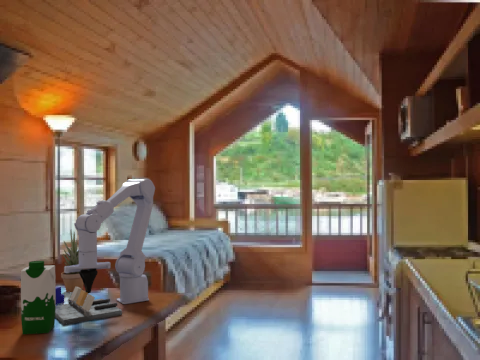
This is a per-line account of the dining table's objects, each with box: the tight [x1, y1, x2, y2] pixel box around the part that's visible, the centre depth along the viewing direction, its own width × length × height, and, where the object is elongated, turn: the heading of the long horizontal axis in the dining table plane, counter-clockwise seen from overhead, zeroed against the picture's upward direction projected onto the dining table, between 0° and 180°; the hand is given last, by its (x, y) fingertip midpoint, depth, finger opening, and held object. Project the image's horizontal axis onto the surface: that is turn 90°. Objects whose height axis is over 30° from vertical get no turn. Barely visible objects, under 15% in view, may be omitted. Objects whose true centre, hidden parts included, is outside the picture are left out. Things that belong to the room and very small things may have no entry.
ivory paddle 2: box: [82, 293, 96, 311], centre depth 145 cm, size 1×4×4 cm, turn 35°
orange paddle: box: [76, 289, 89, 306], centre depth 151 cm, size 1×4×4 cm, turn 35°
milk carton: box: [20, 260, 56, 335], centre depth 134 cm, size 9×9×20 cm
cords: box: [92, 298, 118, 309], centre depth 155 cm, size 8×8×1 cm
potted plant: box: [60, 230, 84, 293], centre depth 184 cm, size 10×10×25 cm
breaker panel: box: [55, 298, 123, 326], centre depth 152 cm, size 18×20×3 cm
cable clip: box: [55, 286, 65, 305], centre depth 166 cm, size 12×4×6 cm, turn 68°
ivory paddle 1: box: [69, 286, 83, 302], centre depth 157 cm, size 1×4×4 cm, turn 35°
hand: (88, 292), depth 152 cm, fingers closed
